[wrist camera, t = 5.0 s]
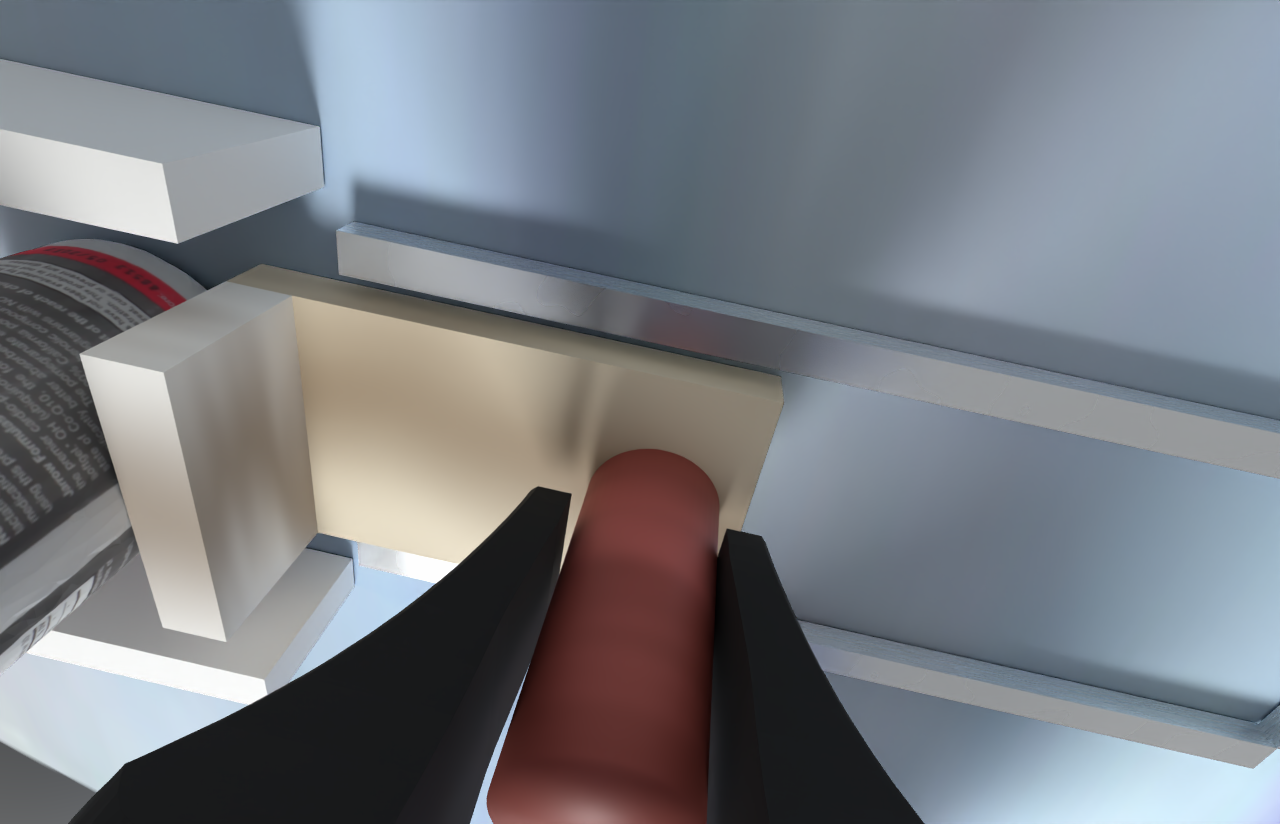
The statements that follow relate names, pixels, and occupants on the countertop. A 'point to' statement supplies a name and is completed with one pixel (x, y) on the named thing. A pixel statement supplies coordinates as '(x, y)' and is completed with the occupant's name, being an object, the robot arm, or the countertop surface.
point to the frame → (175, 212)
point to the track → (882, 370)
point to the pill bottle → (64, 426)
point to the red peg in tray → (454, 498)
